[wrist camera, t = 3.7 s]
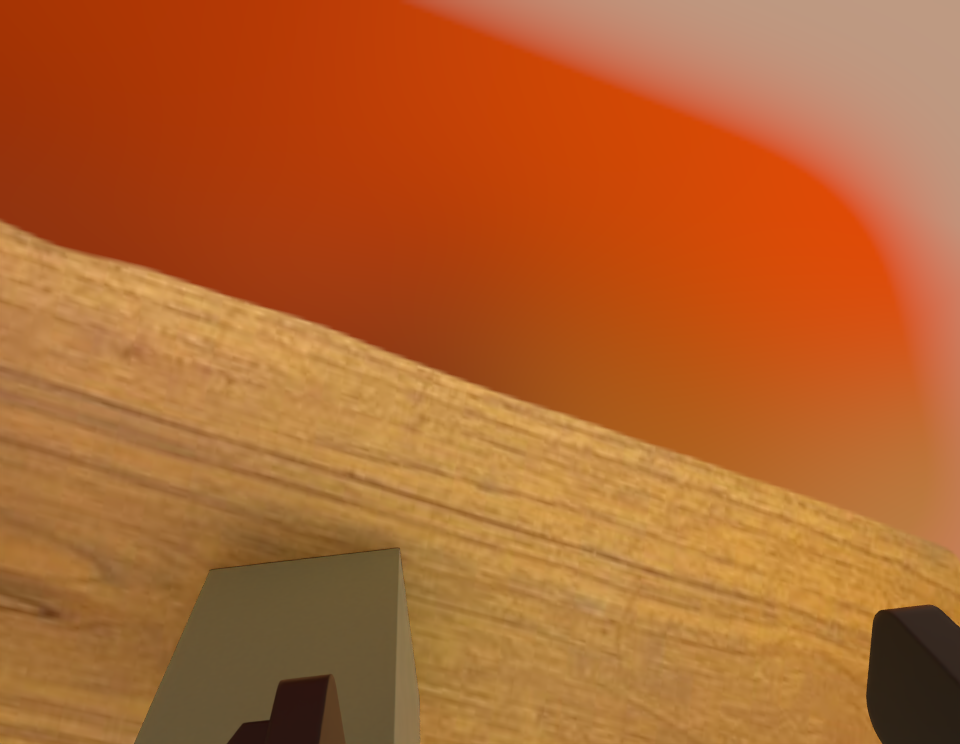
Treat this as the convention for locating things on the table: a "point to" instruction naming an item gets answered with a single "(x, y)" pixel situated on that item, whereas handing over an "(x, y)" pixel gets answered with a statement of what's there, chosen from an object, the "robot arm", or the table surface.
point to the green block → (293, 650)
